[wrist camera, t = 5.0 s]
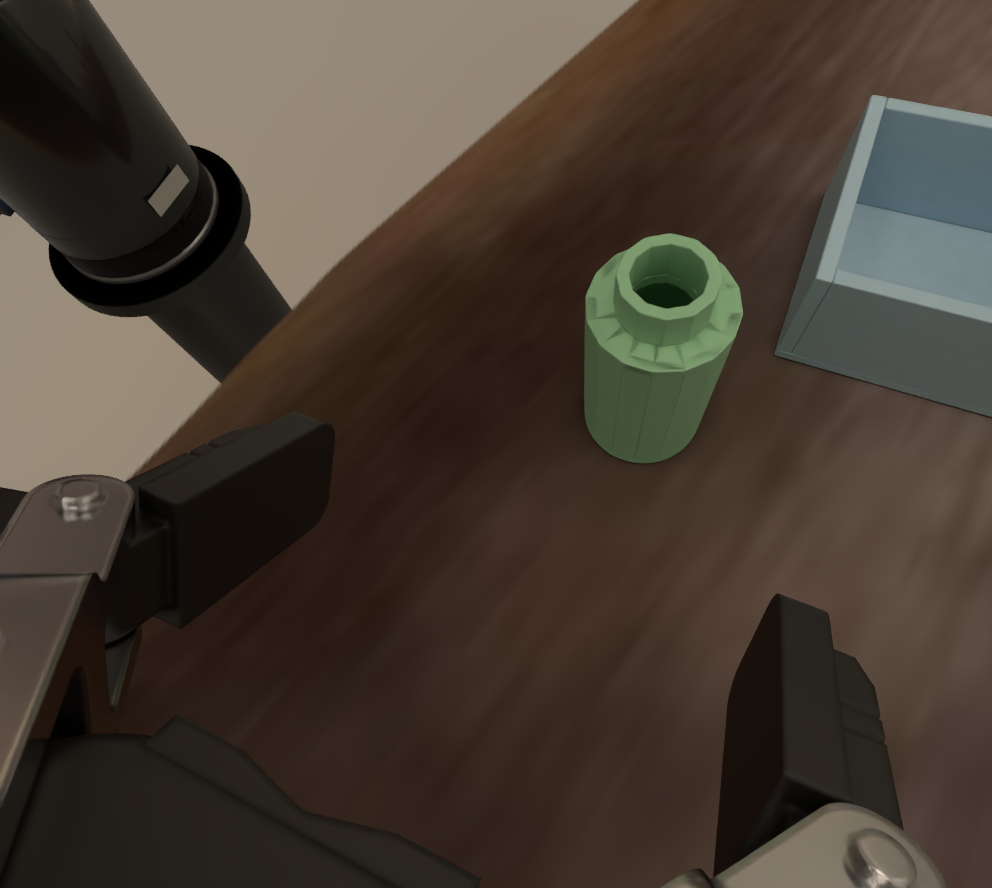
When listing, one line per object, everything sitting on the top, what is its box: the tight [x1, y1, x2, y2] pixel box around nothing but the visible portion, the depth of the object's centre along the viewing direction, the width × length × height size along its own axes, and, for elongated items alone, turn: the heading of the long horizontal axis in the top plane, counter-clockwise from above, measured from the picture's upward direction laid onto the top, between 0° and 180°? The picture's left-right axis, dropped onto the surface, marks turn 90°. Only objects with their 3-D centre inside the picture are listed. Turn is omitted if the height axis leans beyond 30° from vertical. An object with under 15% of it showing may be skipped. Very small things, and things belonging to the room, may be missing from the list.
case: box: [774, 95, 992, 417], centre depth 26 cm, size 9×9×6 cm
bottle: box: [584, 233, 743, 463], centre depth 24 cm, size 5×5×10 cm
